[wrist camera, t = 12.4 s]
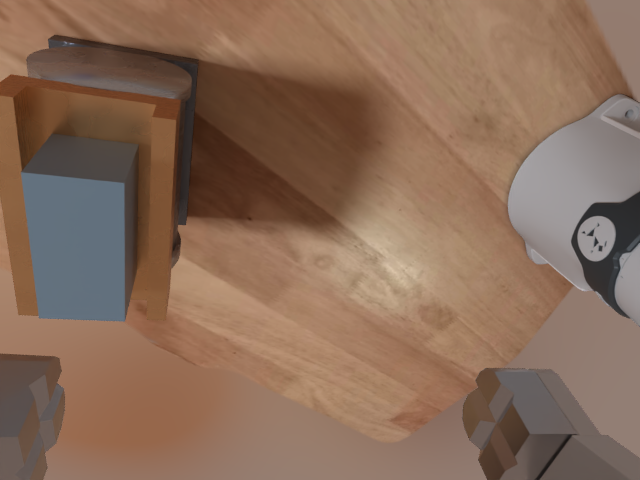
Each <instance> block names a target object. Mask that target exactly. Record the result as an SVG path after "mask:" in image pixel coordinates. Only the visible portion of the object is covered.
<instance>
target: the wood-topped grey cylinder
mask: <svg viewBox="0 0 640 480" xmlns="http://www.w3.org/2000/svg"><path fill="white" fill-rule="evenodd" d="M48 42H49V49H43V50H39V51H36V52H34V53H32V54H30V55H29V56H28V57H27V59H26V61H27V70H28V77H25V76H18V75H10V76H8V77H7V78H5V79H4V80H3V81H1V82H0V197H1V204H2V210H3V217H4V223H5V230H6V236H7V243H8V249H9V256H10V262H11V269H12V275H13V282H14V288H15V295H16V301H17V308H18V314H19V315H33V316H39V314H38V306H37V298H36V290H35V282H34V274H33V266H32V258H31V250H30V242H29V234H28V226H27V218H26V210H25V201H24V193H23V185H22V177H21V171H22V170H23V169H24V168H25V166H26V165H27V164H28V163H29V161H30V160H31V159H32V158H33V157H34V155H35V154H36V153H37V152H38V150H39V149H40V148H41V147H42V145H43V144H44V143H45V142H46V140H47V139H48V138H49V137H50V135H51V134H52V133H53V134H61V135H69V136H77V137H85V138H93V139H101V140H109V141H117V142H125V143H133V144H139V172H138V248H137V273H136V277H135V282H134V286H133V290H132V294H131V298H130V299H131V300H147V320H166V313H167V306H168V299H169V292H170V280H171V268H173V267H174V265H175V264H176V263H177V261H178V259H179V256H180V247H181V238H180V235H179V233H178V225H186V220H187V209H188V195H189V181H190V168H191V154H192V140H193V127H194V113H195V99H196V86H197V72H198V60H197V59H191V58H186V57H180V56H174V55H168V54H162V53H156V52H151V51H145V50H139V49H133V48H127V47H122V46H116V45H110V44H104V43H98V42H92V41H87V40H81V39H75V38H69V37H63V36H58V35H54V36H52V37H51V38H49V39H48Z"/></svg>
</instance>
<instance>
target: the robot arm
mask: <svg viewBox="0 0 640 480" xmlns="http://www.w3.org/2000/svg"><path fill="white" fill-rule="evenodd" d="M627 111H628V112H627ZM626 112H627V113H626ZM625 113H626V114H625ZM508 212H509V217H510V221H511V223H512V225H513V227H514V228H515V230H516V231H517V232H518V233H519V234H520V235H521V237H522V238H523V239H524V241H525V244H526V251H527V255H528V257H529V258H530V259H531V260H532V261H533V262H534V263H536V264H550V265H551V266H552V267H553V268H554V269H555V270H557V271H558V272H559V273H560V274H561V275H563V276H564V277H565V278H566V279H567V280H569V281H570V282H571V283H572V284H573V285H575V286H576V287H577V288H579V289H580V290H583V291H587V290H590V291H595V293H596V294H597V295H598V296H599V298H600V299H601V300H602V301H603V302H604V303H605V304H607V305H608V306H609V307H611V308H613V309H614V310H615V311H616V312H617V313H619V314H620V315H622V316H624V317H627V318H630V319H632V320H633V321H634V322H635V323H636V324H637V325H638V326H639V327H640V102H638V101H636V100H634V99H632V98H630V97H628V96H626V95H623V94H618V95H615V96H613V97H611V98H610V99H608V100H607V101H605V102H604V103H603V104H602V105H600V106H599V107H598V108H597V109H596V110H595V111H593V112H592V113H591V114H590V115H588V116H587V117H585V118H583V119H581V120H579V121H576V122H574V123H572V124H569V125H567V126H565V127H563V128H561V129H560V130H558V131H556V132H555V133H553V134H552V135H551V136H549V137H548V138H547V139H545V140H544V141H543V142H542V143H541V144H539V145H538V146H537V147H536V148H535V149H534V150H533V152H532V153H531V154H530V155H529V156H528V157H527V159H526V160H525V161H524V163H523V164H522V166H521V167H520V169H519V171H518V172H517V174H516V176H515V178H514V181H513V183H512V186H511V189H510V193H509V199H508ZM61 372H62V370H61V365H60V359H59V358H58V357H55V356H36V355H17V354H0V480H43V479H44V476H45V473H46V470H47V463H46V456H45V452H46V451H48V450H49V449H50V448H51V447H52V446H54V445H55V444H56V442H57V439H58V436H59V433H60V430H61V426H62V421H63V416H64V411H65V394H64V388H63V387H61V386H60V385H59V384H58V383H57V382H58V379H59V377H60V374H61ZM476 383H477V385H478V388H477V389H475V390H474V391H472V392H471V393H470V394H468V396H467V398H466V400H465V402H464V405H463V417H462V419H463V424H464V428H465V431H466V433H467V435H468V438H469V440H470V441H471V442H472V443H473V444H475V445H476V446H477V447H478V448H479V449H480V454H479V459H478V461H479V463H480V465H481V467H482V469H483V471H484V474H485V476H486V478H487V480H640V458H639V457H638V456H636V455H635V454H633V453H632V452H631V451H629V450H628V449H626V448H625V447H624V446H622V445H621V444H619V443H618V442H617V441H615V440H614V439H612V438H611V437H609V436H608V435H601V434H600V433H599V431H598V430H597V428H596V427H595V426H594V424H593V423H592V421H591V420H590V419H589V417H588V416H587V414H586V413H585V412H584V410H583V409H582V407H581V406H580V405H579V403H578V402H577V400H576V399H575V398H574V396H573V395H572V394H571V392H570V391H569V389H568V388H567V386H566V385H565V384H564V383H563V381H562V379H561V378H560V377H559V376H558V374H557V373H555V372H554V371H553V370H551V369H523V368H522V369H521V368H485V369H484V370H482V371H481V372H480V373H479V375H478V377H477V378H476Z"/></svg>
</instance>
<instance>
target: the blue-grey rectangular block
mask: <svg viewBox="0 0 640 480" xmlns="http://www.w3.org/2000/svg"><path fill="white" fill-rule="evenodd" d="M138 172H139V144H133V143H125V142H117V141H109V140H101V139H93V138H85V137H77V136H69V135H61V134H53V133H52V134H51V135H50V137H49V138H48V139H47V140H46V142H45V143H44V144H43V145H42V147H41V148H40V149H39V150H38V152H37V153H36V154H35V155H34V157H33V158H32V159H31V160H30V161H29V163H28V164H27V165H26V166H25V168H24V169H23V170H22V171H21V177H22V185H23V193H24V201H25V210H26V218H27V226H28V234H29V242H30V250H31V258H32V266H33V274H34V282H35V290H36V298H37V306H38V314H39V318H48V319H74V320H101V321H125V319H126V315H127V310H128V306H129V302H130V298H131V294H132V290H133V286H134V282H135V277H136V273H137V248H138Z"/></svg>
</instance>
